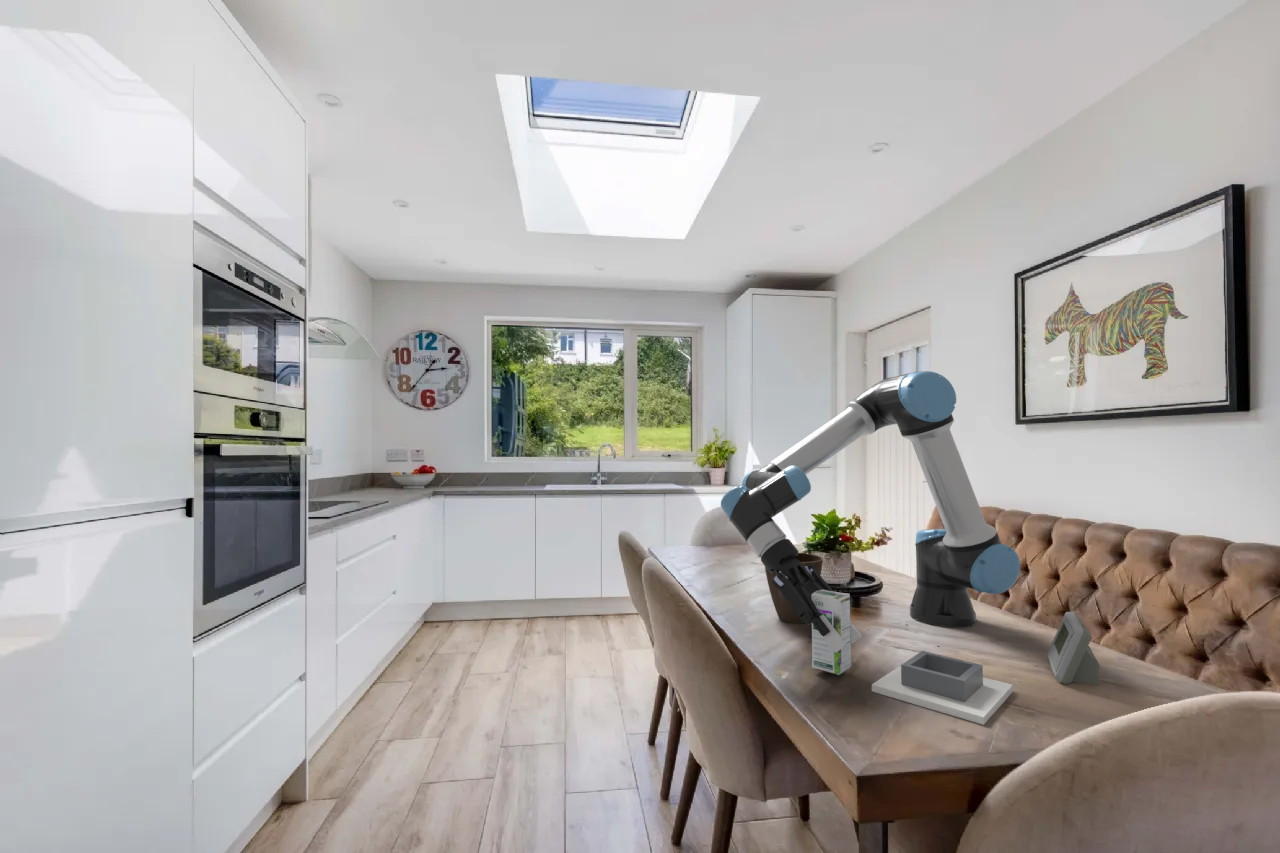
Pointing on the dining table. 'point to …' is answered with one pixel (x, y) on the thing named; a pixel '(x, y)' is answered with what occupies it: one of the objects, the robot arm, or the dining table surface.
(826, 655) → the syrup box
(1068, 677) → the digital clock
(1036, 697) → the dining table surface
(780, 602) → the plant pot
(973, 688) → the socket dock
